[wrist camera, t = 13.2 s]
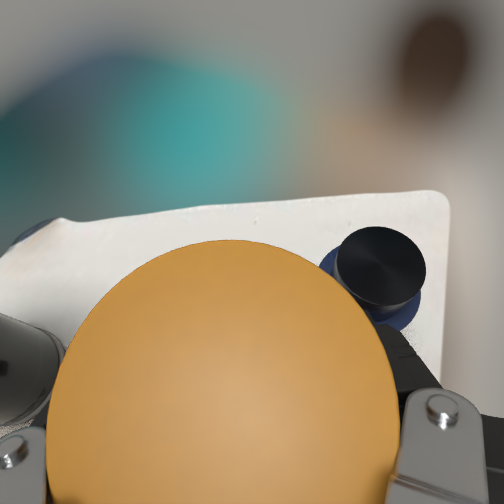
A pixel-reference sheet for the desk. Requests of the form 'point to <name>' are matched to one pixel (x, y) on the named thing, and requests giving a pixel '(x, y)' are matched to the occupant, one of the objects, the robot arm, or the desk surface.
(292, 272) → the cap
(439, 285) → the desk surface
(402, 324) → the flask
